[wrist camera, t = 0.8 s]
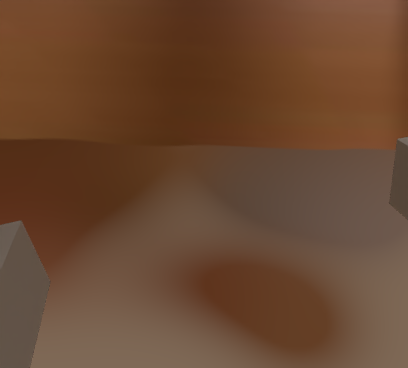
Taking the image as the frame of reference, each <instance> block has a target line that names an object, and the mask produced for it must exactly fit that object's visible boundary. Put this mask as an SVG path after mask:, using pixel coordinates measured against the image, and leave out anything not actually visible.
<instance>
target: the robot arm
mask: <svg viewBox="0 0 408 368" xmlns="http://www.w3.org/2000/svg"><path fill="white" fill-rule="evenodd" d="M389 204H390V205H392V206H393V207H394V208H395V209H396V210H397V211H398V212H399V213H400V214H402V215H403V216H404V217H405V218H406V219H407V220H408V137H405V138H400V139H397V144H396V153H395V161H394V169H393V177H392V185H391V193H390V201H389ZM49 286H50V280H49V278H48V275H47V273H46V271H45V269H44V267H43V265H42V263H41V261H40V259H39V257H38V254H37V252H36V251H35V248H34V246H33V244H32V242H31V240H30V238H29V236H28V234H27V231H26V229H25V227H24V225H23V223H22V221H17V222H12V223H7V224H3V225H0V368H30V365H31V361H32V357H33V353H34V348H35V344H36V340H37V336H38V332H39V328H40V323H41V319H42V314H43V311H44V306H45V302H46V298H47V293H48V290H49Z"/></svg>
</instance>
